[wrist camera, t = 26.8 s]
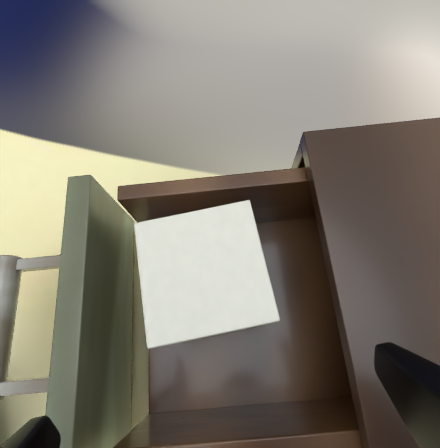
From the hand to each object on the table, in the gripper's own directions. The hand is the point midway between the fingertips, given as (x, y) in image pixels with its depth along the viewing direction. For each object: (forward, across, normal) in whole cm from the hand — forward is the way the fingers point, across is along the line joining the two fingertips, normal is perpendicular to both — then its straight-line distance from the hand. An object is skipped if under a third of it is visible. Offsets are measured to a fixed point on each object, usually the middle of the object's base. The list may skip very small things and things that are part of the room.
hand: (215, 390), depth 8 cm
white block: (+10, 0, -4) cm, 11 cm away
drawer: (+10, -2, -5) cm, 11 cm away
